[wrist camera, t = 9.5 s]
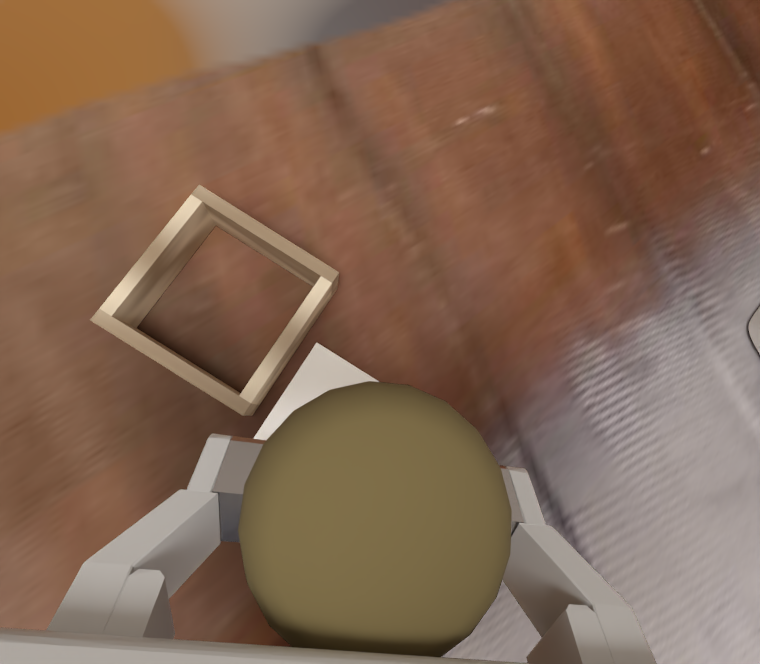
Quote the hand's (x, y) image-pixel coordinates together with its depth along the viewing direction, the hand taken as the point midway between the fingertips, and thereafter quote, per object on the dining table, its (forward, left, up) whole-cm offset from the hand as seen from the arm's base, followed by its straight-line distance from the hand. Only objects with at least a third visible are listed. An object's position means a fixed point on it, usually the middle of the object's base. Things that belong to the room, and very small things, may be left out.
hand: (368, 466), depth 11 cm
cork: (+1, 0, -7) cm, 7 cm away
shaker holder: (-3, -11, -18) cm, 21 cm away
